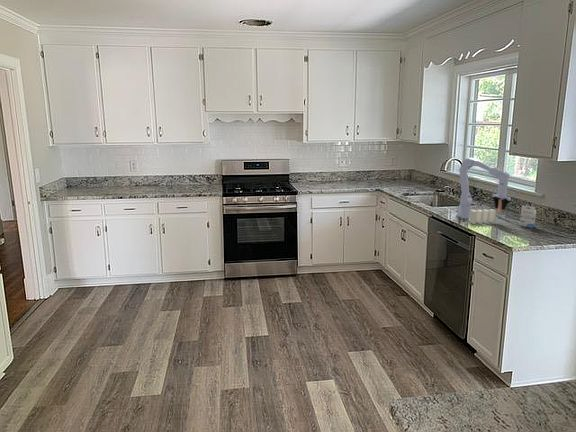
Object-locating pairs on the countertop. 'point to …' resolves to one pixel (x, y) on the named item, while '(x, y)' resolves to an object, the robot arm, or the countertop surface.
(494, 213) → the cream domino
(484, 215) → the cream domino
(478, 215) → the cream domino
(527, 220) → the ink box
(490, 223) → the mat
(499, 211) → the terracotta domino
